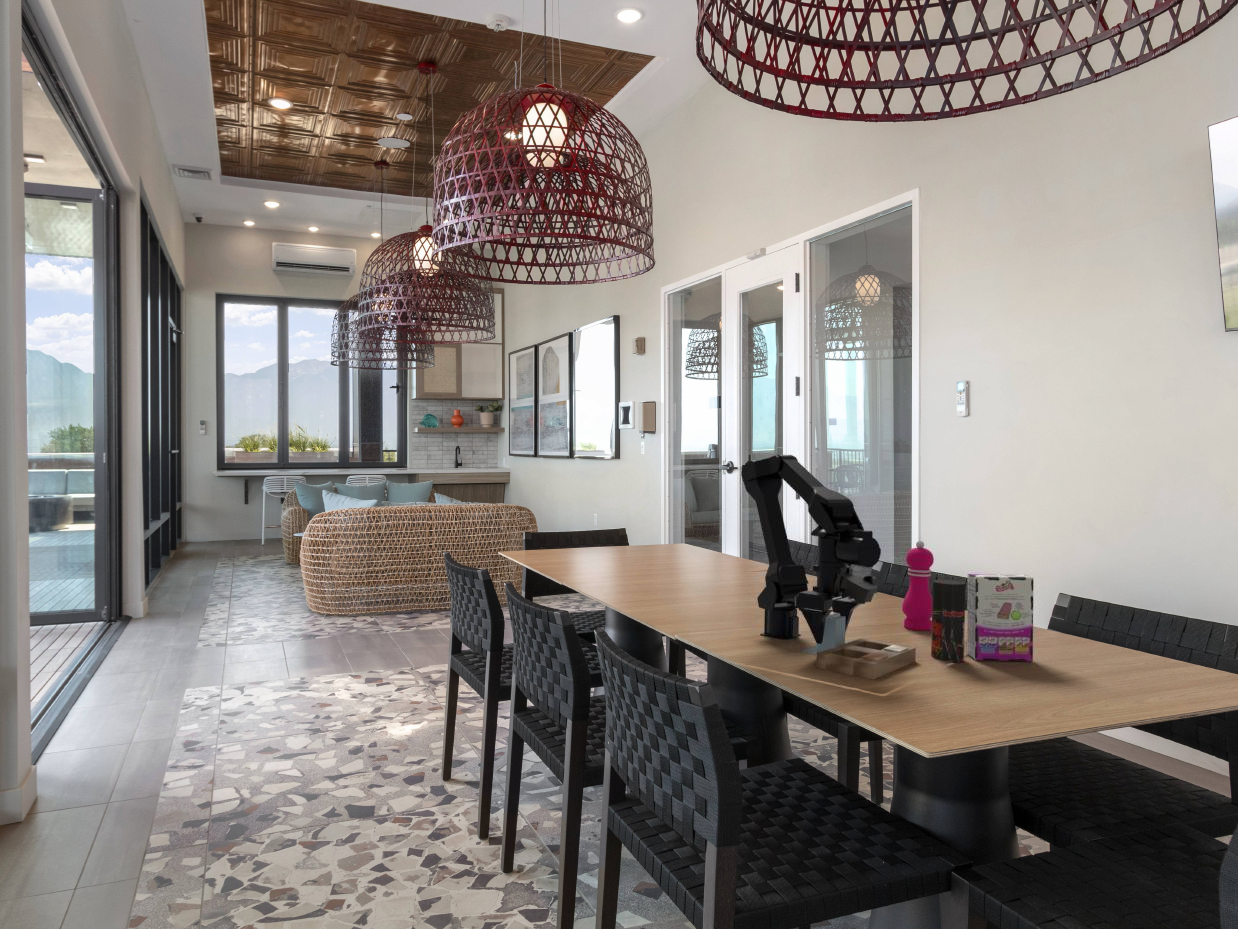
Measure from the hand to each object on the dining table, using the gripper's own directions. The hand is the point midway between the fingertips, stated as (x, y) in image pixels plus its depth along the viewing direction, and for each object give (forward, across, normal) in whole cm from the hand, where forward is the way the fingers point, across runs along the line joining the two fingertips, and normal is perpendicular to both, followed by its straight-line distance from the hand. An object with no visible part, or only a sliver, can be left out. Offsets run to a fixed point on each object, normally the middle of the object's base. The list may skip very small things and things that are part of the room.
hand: (830, 639), depth 164 cm
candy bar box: (+3, +21, -25) cm, 33 cm away
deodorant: (+3, +13, -18) cm, 22 cm away
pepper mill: (+3, +38, -2) cm, 38 cm away
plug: (+2, 0, 0) cm, 2 cm away
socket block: (+3, -4, -10) cm, 11 cm away
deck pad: (+3, 0, 0) cm, 3 cm away
